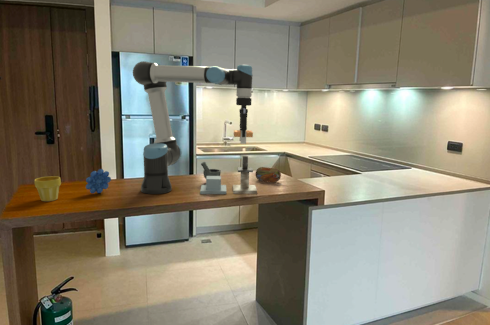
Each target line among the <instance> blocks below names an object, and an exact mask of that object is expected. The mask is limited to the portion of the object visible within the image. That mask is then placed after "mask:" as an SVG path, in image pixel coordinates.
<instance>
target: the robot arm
mask: <svg viewBox="0 0 490 325" xmlns="http://www.w3.org/2000/svg"><path fill="white" fill-rule="evenodd" d="M132 77H133V79H134V80H135V82H137V84H139V85H142V86H143V90H144V92H145V93H146V94H147V95H148V101H149V105H150V106H149V107H150V110H151V112H150V113H151V116H152V122H153V127H154V134H155V136H156V137H155V138H156V139H155V140H154V142H153V143H149V144H146V145H145V146H144V147H143V152H142V153H143V154H142V155H143V179H142V182H141V186H140V191H141V193H143V194H147V195H149V194H150V195H159V194H166V193H170V192H171V191H172V189H173V188H172V183H171V181H170V177H169V173H168V172H169V166H173V165H175V164H176V163H178V162H179V161H180V160H181V157H182V148H181V147H180V145H179V144H178V142H177V139H176V138H175V136H173V130H172V124H171V120H170V115H169V109H168V103H167V98H166V90H167V89H168V86H167V83H169V82H170V83H195V84H214V85H220V86H227V85H228V86H229V85H230V86H232V85H233V86H236V92H235V93H236V94H235V95H236V100H235V102H236V106H240V108H239V130H241V137H238V138H239V142H240V144H241V145H244V144H245V145H246V144H247V137H246V130H248V127H247V126H248V121H247V120H248V111H249V109H247V106H248V107H249V106H252V93H254V92H253V91H254V90H252V88H253V66H252V65H249V64H239V65H237V66H236V69H235V68H232V69H230V68H223V67H220V66H217V65H213V66H205V65H204V66H202V65H201V66H198V65H167V64H165V65H161V64H160V63H156V62H151V61H150V62H149V61H145V60H144V61H139V62H137V63H136V64H135V65H134V66H133V69H132Z"/></svg>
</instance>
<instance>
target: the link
mask: <svg viewBox="0 0 490 325" xmlns="http://www.w3.org/2000/svg"><path fill="white" fill-rule="evenodd" d="M233 137H234V138H240V137H241V130H240V129H238V130H237V129H233ZM253 137H254V132H253V131H252V130H248V129H247V130H246V138H253Z"/></svg>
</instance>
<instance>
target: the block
mask: <svg viewBox="0 0 490 325" xmlns="http://www.w3.org/2000/svg"><path fill="white" fill-rule="evenodd" d="M200 186H201V187H200V191H199V192H200V193H199V194H200V195H227V184H222V175H220V176H207V177H206V179H205V184H201V185H200Z"/></svg>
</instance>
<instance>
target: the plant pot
mask: <svg viewBox="0 0 490 325" xmlns="http://www.w3.org/2000/svg"><path fill="white" fill-rule="evenodd" d="M61 184H62V179H61V177H60V176H55V175H53V176H51V175H50V176H41V177H37V178H35V179H34V187H35V188H36V189H37V192H38V196H39V198H40V200H41V201H42V202H54V201H56V200H58V198H59V192H60V191H59V190H60V186H61Z"/></svg>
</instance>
